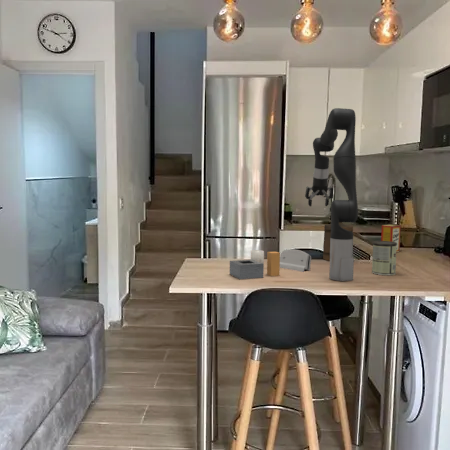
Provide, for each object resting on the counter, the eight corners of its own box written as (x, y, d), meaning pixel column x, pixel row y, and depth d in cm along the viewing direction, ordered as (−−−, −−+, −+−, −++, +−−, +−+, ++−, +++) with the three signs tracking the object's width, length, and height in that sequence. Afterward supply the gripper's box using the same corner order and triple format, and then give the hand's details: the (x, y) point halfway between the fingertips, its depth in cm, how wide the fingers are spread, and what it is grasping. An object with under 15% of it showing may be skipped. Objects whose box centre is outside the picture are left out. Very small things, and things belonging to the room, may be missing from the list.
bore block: (263, 277, 202) (263, 263, 201) (239, 279, 198) (239, 265, 197) (252, 272, 212) (252, 259, 212) (229, 274, 208) (229, 260, 207)
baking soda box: (390, 253, 273) (392, 225, 272) (380, 251, 278) (381, 224, 277) (399, 251, 279) (400, 224, 278) (389, 250, 284) (390, 223, 283)
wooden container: (355, 262, 243) (357, 219, 241) (327, 262, 242) (328, 219, 240) (346, 257, 257) (348, 216, 255) (319, 257, 257) (321, 216, 255)
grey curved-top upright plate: (275, 266, 227) (279, 246, 229) (280, 268, 231) (285, 249, 232) (303, 271, 216) (308, 250, 217) (309, 273, 219) (314, 253, 220)
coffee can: (371, 270, 220) (372, 240, 219) (395, 271, 217) (396, 241, 216) (371, 274, 210) (372, 243, 209) (396, 276, 207) (397, 244, 206)
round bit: (265, 271, 216) (266, 251, 215) (253, 272, 214) (254, 252, 213) (260, 268, 222) (260, 249, 221) (248, 269, 220) (248, 250, 219)
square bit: (279, 275, 206) (279, 252, 206) (271, 276, 205) (271, 253, 204) (275, 273, 210) (275, 251, 209) (266, 274, 209) (267, 251, 208)
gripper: (308, 178, 241) (306, 208, 247) (336, 178, 242) (333, 208, 248) (305, 174, 248) (303, 203, 254) (332, 174, 249) (329, 203, 255)
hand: (318, 205), depth 251 cm, fingers open, 8 cm apart
